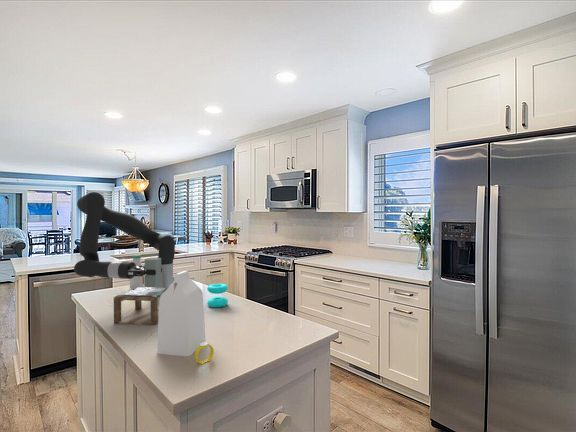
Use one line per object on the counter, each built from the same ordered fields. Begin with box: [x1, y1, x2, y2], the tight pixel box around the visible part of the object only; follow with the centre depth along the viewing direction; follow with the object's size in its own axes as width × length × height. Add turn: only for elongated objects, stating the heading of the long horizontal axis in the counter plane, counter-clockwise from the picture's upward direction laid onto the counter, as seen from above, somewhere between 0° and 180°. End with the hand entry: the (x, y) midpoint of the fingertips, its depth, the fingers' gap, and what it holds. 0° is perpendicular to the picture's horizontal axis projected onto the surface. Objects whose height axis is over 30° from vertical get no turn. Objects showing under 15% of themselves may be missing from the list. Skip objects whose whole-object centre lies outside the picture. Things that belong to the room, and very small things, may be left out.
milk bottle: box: [129, 254, 144, 290], centre depth 196 cm, size 8×8×20 cm
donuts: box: [206, 283, 229, 308], centre depth 162 cm, size 10×10×10 cm
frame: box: [113, 287, 168, 326], centre depth 144 cm, size 18×18×11 cm
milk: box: [156, 270, 207, 357], centre depth 112 cm, size 12×12×26 cm
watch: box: [194, 341, 214, 365], centre depth 101 cm, size 6×3×6 cm, turn 137°
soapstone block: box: [144, 257, 161, 288], centre depth 143 cm, size 5×5×12 cm
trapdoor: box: [116, 287, 167, 302], centre depth 144 cm, size 17×13×3 cm
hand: (158, 271), depth 143 cm, fingers closed on soapstone block, 5 cm apart
